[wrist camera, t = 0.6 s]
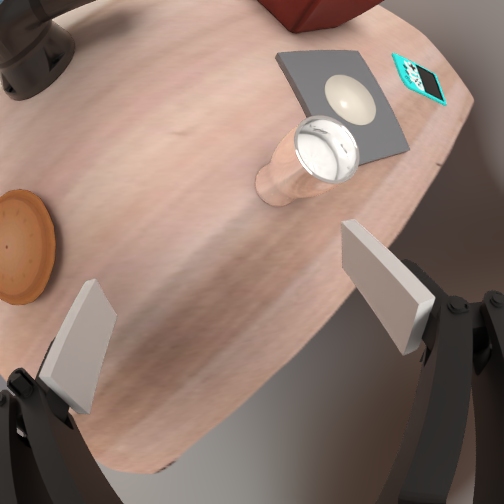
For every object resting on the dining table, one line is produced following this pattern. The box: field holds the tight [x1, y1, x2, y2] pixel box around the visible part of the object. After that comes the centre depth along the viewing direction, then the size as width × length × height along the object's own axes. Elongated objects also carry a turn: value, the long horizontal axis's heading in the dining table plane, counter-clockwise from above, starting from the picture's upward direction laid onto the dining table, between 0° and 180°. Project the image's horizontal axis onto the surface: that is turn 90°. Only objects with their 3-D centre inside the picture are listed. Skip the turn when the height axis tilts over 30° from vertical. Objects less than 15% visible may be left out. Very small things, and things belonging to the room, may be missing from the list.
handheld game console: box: [392, 53, 447, 106], centre depth 44 cm, size 10×16×1 cm, turn 93°
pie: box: [0, 189, 56, 305], centre depth 26 cm, size 16×16×5 cm
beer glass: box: [255, 115, 359, 207], centre depth 29 cm, size 7×7×15 cm
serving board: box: [275, 50, 410, 166], centre depth 38 cm, size 22×18×2 cm
